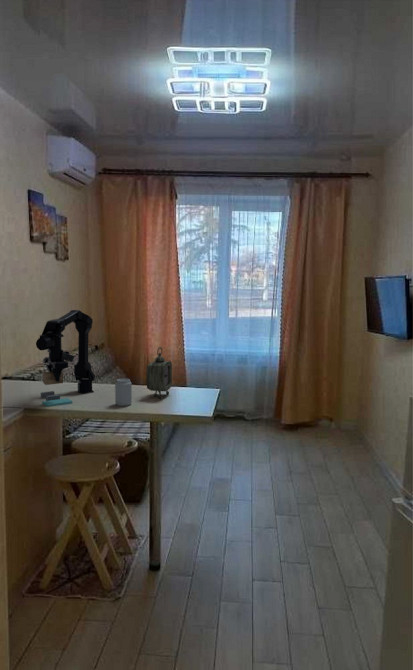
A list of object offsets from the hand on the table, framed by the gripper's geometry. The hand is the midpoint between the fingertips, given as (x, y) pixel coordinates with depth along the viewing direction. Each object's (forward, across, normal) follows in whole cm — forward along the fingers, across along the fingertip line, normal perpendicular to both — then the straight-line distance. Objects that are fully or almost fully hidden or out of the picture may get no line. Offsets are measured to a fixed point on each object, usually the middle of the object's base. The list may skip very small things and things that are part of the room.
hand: (56, 380), depth 223 cm
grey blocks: (+11, +10, 0) cm, 15 cm away
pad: (+11, 0, 0) cm, 11 cm away
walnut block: (+1, 0, +1) cm, 2 cm away
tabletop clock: (+11, -14, -47) cm, 51 cm away
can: (+11, -19, -26) cm, 34 cm away
